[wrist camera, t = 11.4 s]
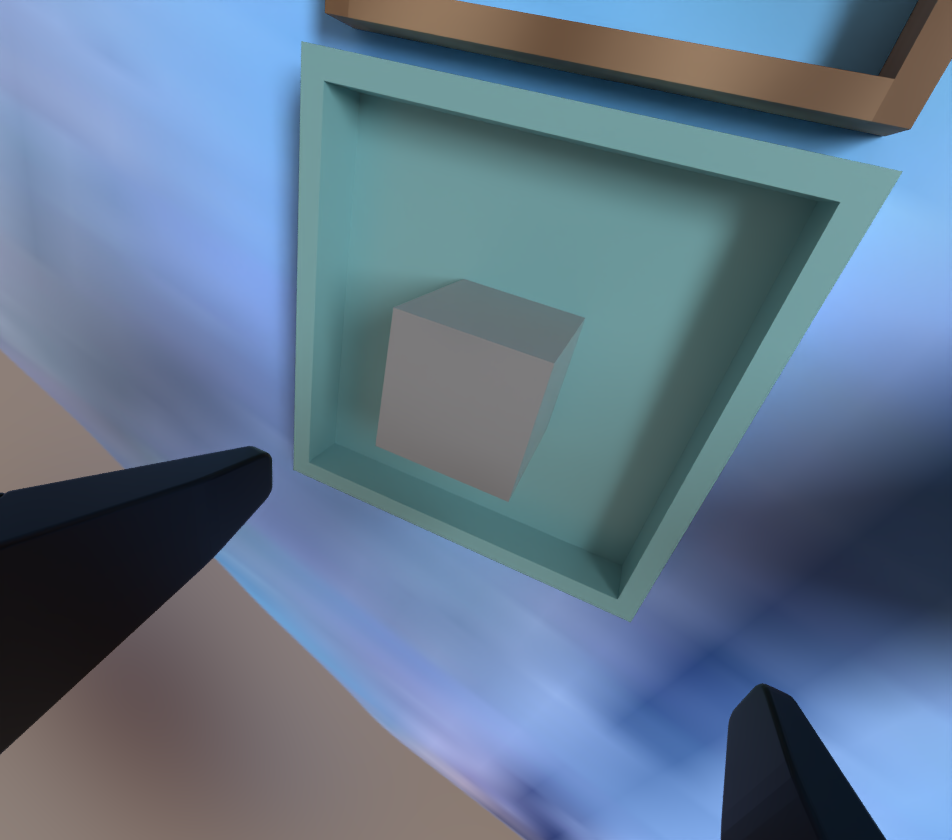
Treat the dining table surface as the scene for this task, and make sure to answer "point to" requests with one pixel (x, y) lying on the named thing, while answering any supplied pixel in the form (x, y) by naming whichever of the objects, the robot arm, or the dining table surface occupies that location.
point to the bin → (557, 298)
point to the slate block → (473, 382)
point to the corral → (684, 59)
